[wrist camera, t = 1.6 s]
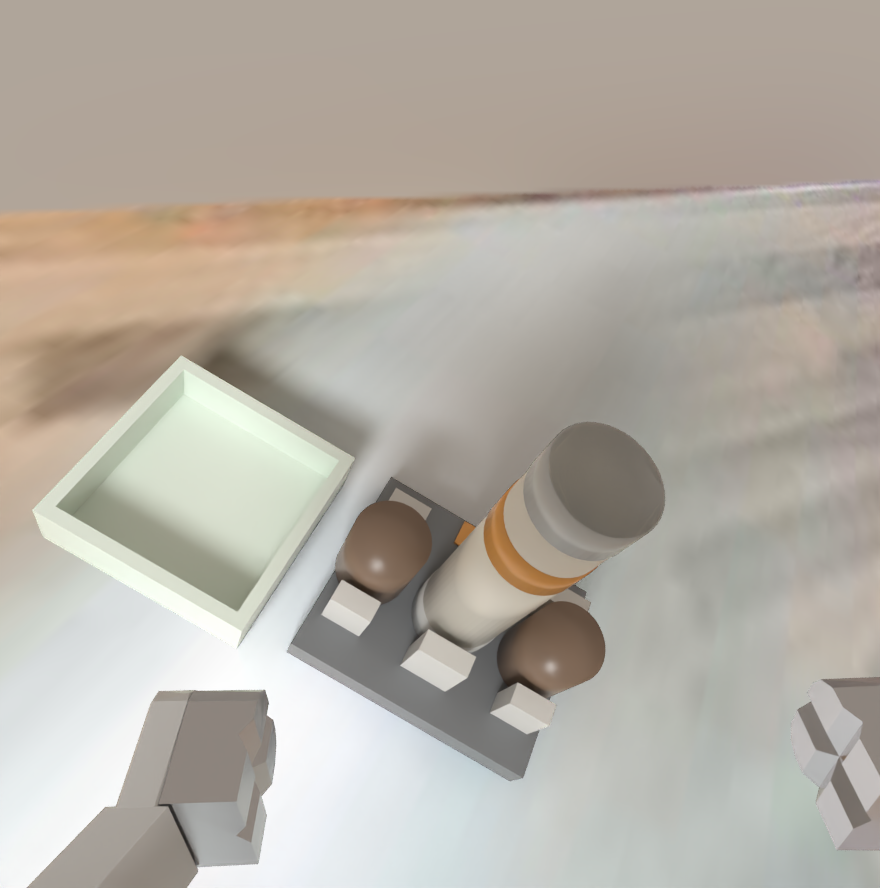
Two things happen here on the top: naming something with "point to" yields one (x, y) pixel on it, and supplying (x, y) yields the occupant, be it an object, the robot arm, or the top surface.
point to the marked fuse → (543, 535)
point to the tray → (197, 499)
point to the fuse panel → (427, 658)
